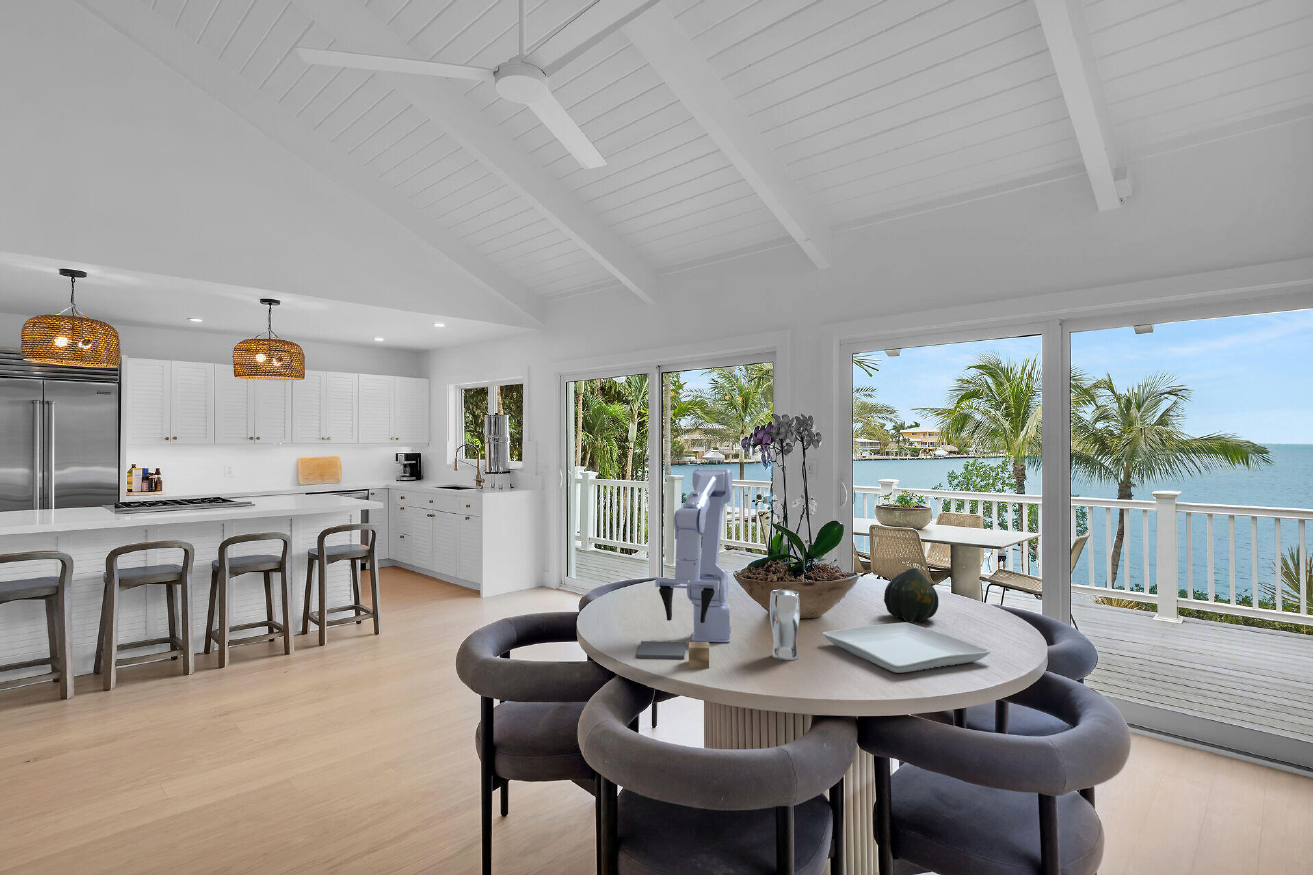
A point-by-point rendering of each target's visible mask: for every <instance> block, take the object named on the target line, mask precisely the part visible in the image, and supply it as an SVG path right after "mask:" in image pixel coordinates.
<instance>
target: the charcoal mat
mask: <svg viewBox="0 0 1313 875" xmlns="http://www.w3.org/2000/svg"><path fill="white" fill-rule="evenodd" d="M685 653H686V641H663V640H662V641H660V640H658V641H656V640H655V641H651V640H650V641H649V640H641V641H640V644H639V647H638V650H637V654H636V659H663V660H664V659H665V660H666V659H667V660H668V659H669V660H685Z"/></svg>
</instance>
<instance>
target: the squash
mask: <svg viewBox="0 0 1313 875" xmlns="http://www.w3.org/2000/svg"><path fill="white" fill-rule="evenodd" d="M883 601H884V605H885V607H886V608H885V609H886V610H887V612H888V613H889V614H890V615H892V616H894V617H896V618H903V619H904V620H905V622H907V621H908V622H907V623H913V622H914V621H915V622H918V621H921V622H923V621H926V620H927V619H930V618H932V617H934V616H935V614H936V613H937V611H938V609H939V595H938V592H937V591H936V589H935V587H934V586H933V585H932V584H931V583H930V581H929V580H928V579H927V578H926V577H925V575H924V574H923V573H922V572H921V570H919V569H918V568H917V567H914V568H910V569H907V570H905V571H903V572H901V573H900V574H897V575H896V576H895V577H893V578H892V579H891V580H890V581H889V582H888V584H887V585H886V587H885V590H884V597H883ZM912 621H913V622H912Z"/></svg>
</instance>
